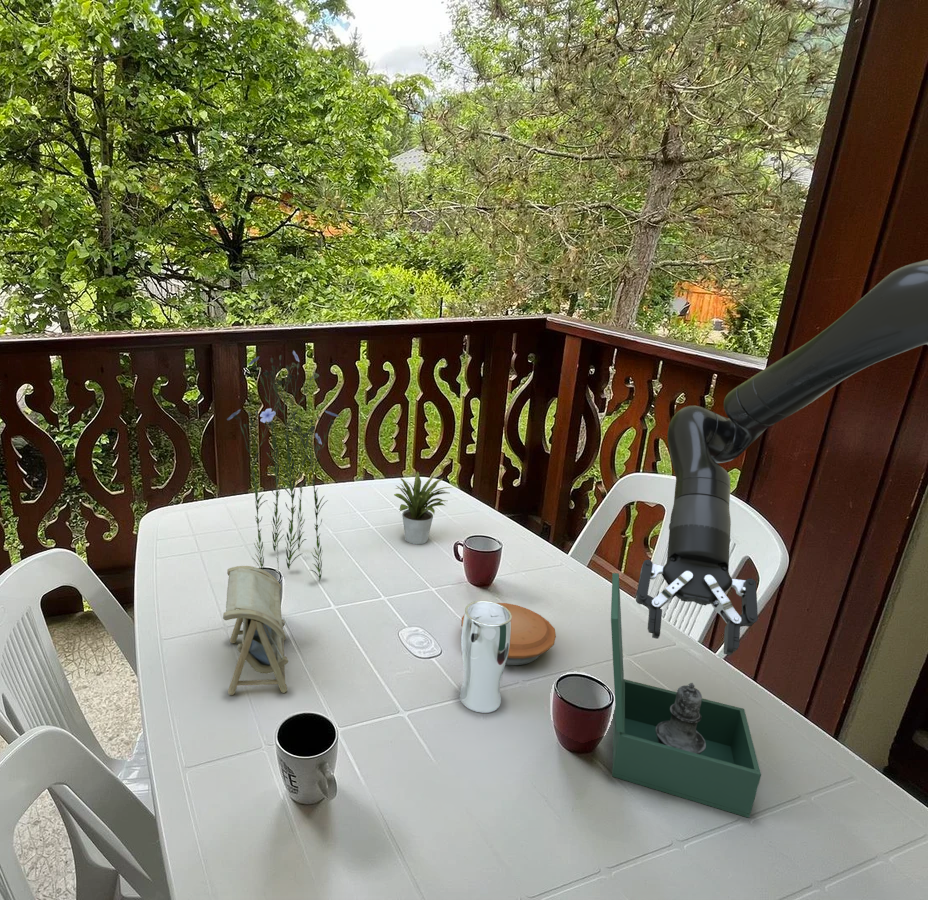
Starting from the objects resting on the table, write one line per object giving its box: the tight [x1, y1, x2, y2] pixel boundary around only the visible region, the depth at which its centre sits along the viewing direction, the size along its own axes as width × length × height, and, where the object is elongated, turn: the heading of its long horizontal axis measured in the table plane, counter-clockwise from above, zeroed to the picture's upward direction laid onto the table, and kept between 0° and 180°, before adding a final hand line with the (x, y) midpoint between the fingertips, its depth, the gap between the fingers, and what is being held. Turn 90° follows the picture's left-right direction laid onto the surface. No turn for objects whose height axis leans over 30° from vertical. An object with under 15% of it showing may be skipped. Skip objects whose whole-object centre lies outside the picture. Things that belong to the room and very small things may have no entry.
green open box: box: [611, 678, 762, 819], centre depth 83 cm, size 15×12×7 cm
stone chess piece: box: [655, 682, 706, 754], centre depth 82 cm, size 6×6×12 cm
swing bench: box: [222, 565, 289, 696], centre depth 101 cm, size 15×10×15 cm, turn 6°
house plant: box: [393, 471, 453, 545], centre depth 144 cm, size 14×14×16 cm
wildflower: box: [226, 350, 340, 582], centre depth 128 cm, size 22×23×45 cm
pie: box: [461, 602, 557, 666], centre depth 108 cm, size 15×16×5 cm
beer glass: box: [459, 600, 512, 714], centre depth 94 cm, size 7×7×15 cm
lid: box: [610, 572, 625, 732], centre depth 83 cm, size 16×12×1 cm
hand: (691, 645), depth 85 cm, fingers open, 8 cm apart
